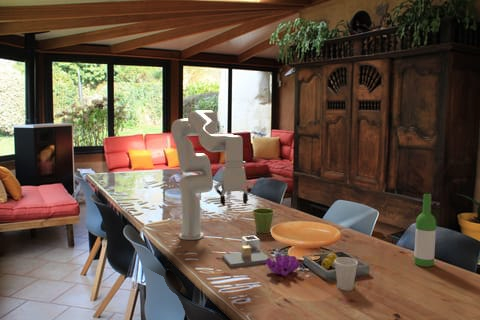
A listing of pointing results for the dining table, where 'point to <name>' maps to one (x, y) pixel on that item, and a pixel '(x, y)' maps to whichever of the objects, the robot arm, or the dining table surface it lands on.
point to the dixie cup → (345, 272)
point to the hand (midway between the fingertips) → (234, 204)
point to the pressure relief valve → (329, 261)
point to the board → (247, 261)
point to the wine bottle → (425, 235)
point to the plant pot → (263, 219)
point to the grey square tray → (331, 274)
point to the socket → (251, 242)
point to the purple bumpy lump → (283, 264)
